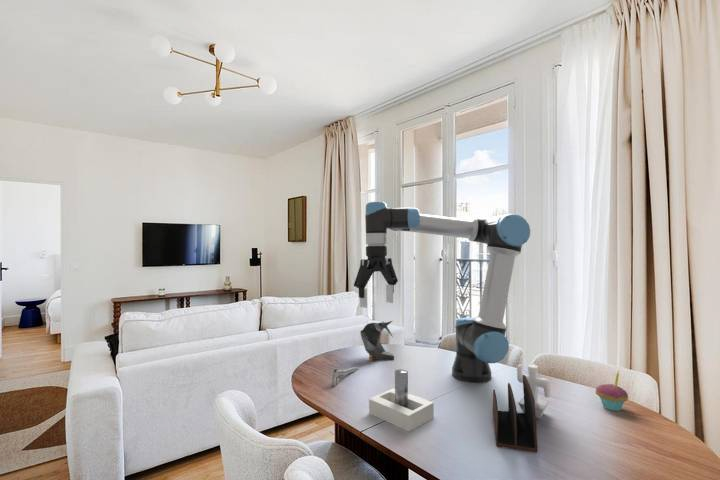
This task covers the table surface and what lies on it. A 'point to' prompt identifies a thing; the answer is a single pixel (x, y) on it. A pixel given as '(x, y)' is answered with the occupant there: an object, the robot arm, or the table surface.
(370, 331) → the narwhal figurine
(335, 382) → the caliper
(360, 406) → the table surface
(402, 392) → the pin
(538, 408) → the figurine
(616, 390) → the cupcake
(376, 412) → the block
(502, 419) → the letter holder
